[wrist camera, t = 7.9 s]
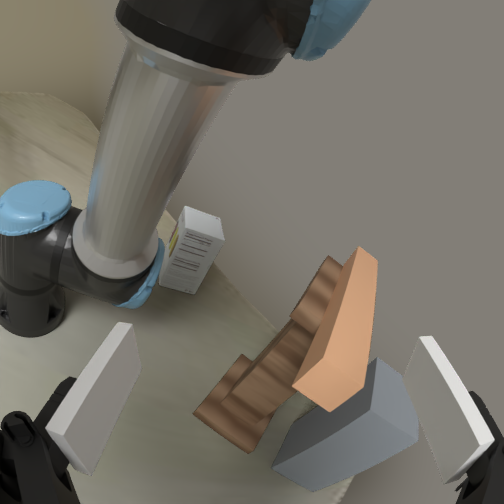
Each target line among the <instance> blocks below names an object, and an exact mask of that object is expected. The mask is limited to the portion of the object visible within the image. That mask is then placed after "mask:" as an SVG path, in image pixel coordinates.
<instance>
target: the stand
mask: <svg viewBox="0 0 504 504" xmlns="http://www.w3.org/2000/svg"><path fill="white" fill-rule="evenodd" d="M342 268H343V266H342V265H340V264H339V263H338V262H337V261H335V260H334V259H333V258H331V257H330V256H327V258H326V259H325V260H324V262H323V263H322V264H321V266H320V268H319V269H318V271H317V272H316V274H315V276H314V278H313V279H312V281H311V282H310V284H309V286H308V287H307V289H306V291H305V292H304V294H303V295H302V297H301V299H300V300H299V302H298V303H297V305H296V307H295V308H294V310H293V311H292V313H291V315H290V317H291V319H290V321H289V322H288V323H287V324H286V325H285V326H284V328H283V329H282V330H281V331H280V332H279V333H278V334H277V336H276V337H275V338H274V339H273V340H272V341H271V342H270V344H269V345H268V346H267V347H266V348H265V349H264V350H263V351H262V352H261V354H260V355H259V356H258V357H257V358H256V359H255V360H254V361H253V362H252V361H251V360H250V359H248V358H247V357H246V356H244V355H243V354H241V356H240V357H239V358H238V359H237V360H236V362H235V363H234V364H233V365H232V367H231V368H230V369H229V370H228V372H227V373H226V374H225V375H224V376H223V378H222V379H221V380H220V381H219V383H218V384H217V385H216V386H215V388H214V389H213V390H212V391H211V392H210V394H209V395H208V396H207V397H206V398H205V400H204V401H203V402H202V403H201V404H200V406H199V407H198V408H197V409H196V410H195V411H194V413H193V415H195V416H196V417H197V418H198V419H200V420H201V421H202V422H204V423H205V424H206V425H208V426H209V427H210V428H212V429H213V430H214V431H216V432H217V433H218V434H220V435H221V436H223V437H224V438H225V439H227V440H228V441H230V442H231V443H233V444H234V445H236V446H237V447H238V448H240V449H241V450H243V451H244V452H246V453H247V454H249V453H250V452H252V451H254V449H255V447H256V446H257V444H258V442H259V440H260V438H261V437H262V435H263V433H264V431H265V429H266V428H267V426H268V424H269V422H270V420H271V418H272V417H273V415H274V413H275V411H276V409H277V407H278V406H280V405H281V404H282V403H283V402H285V401H286V400H287V399H288V398H290V397H291V396H292V395H293V394H294V393H296V392H297V391H298V390H296V389H295V388H294V387H292V384H293V382H294V380H295V378H296V376H297V374H298V372H299V370H300V368H301V366H302V363H303V361H304V359H305V357H306V355H307V353H308V350H309V348H310V346H311V344H312V341H313V339H314V337H315V335H316V332H317V330H318V328H319V325H320V323H321V321H322V318H323V316H324V314H325V311H326V309H327V306H328V304H329V301H330V299H331V297H332V294H333V292H334V289H335V287H336V284H337V281H338V279H339V276H340V274H341V271H342ZM375 300H376V296H375ZM374 311H375V307H374ZM373 321H374V317H373ZM372 330H373V326H372ZM371 338H372V335H371ZM370 346H371V343H370ZM369 353H370V350H369Z"/></svg>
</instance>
